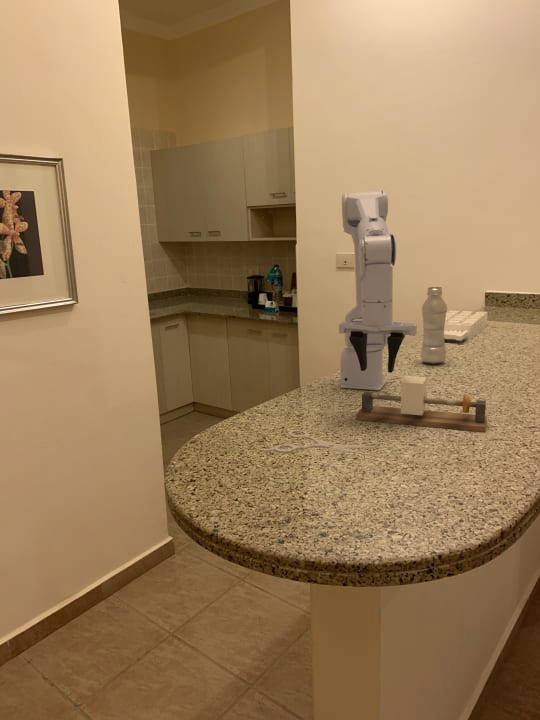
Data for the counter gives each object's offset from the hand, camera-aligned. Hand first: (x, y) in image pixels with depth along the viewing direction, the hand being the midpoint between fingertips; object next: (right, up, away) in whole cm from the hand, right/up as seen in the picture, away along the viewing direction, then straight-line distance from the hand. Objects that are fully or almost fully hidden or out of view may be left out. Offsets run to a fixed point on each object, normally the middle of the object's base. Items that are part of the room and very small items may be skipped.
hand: (377, 370), depth 105 cm
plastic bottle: (+23, +1, +39) cm, 45 cm away
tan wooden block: (+7, -8, -1) cm, 10 cm away
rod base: (+8, -10, -1) cm, 12 cm away
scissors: (-11, -14, -11) cm, 20 cm away
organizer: (+41, +11, +75) cm, 86 cm away
